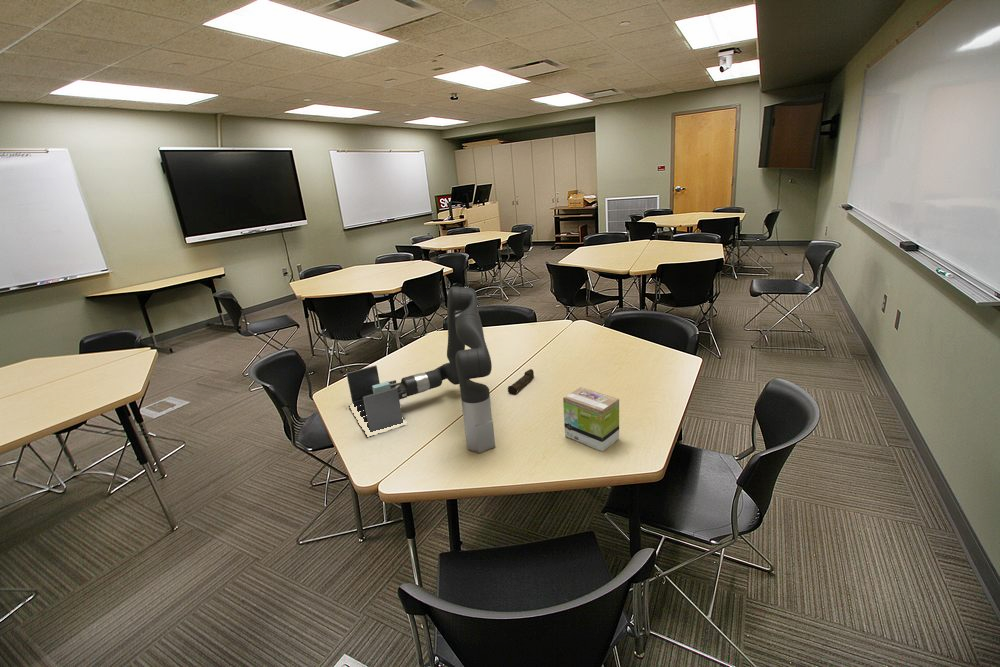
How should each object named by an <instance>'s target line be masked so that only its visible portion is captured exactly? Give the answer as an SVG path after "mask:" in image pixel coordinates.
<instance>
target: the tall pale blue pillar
mask: <svg viewBox="0 0 1000 667" xmlns="http://www.w3.org/2000/svg"><path fill="white" fill-rule="evenodd" d="M388 382H389V381H385V382H381V383H380V384H377V385H373V386H372V388H373V394H375V393H378V392H382V391H385V390H389V389H391V388H390V384H389V383H388Z"/></svg>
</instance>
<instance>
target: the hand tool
mask: <svg viewBox="0 0 1000 667" xmlns="http://www.w3.org/2000/svg"><path fill="white" fill-rule="evenodd" d="M534 378H535V375H534V369H533V368H530V369H528V370H526V371H525V372H524V374H523V376H521V377H520V378H519V379H518V380H516V381H515V382H514V383H513V384H511V385H508V386H507V392H508V393H509V394H510V395H517V394H518V393H519V391H520V390H521V389H522V388H523V387H525V386H526V385H527V384H528V383H532V381H533V380H534Z"/></svg>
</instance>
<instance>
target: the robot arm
mask: <svg viewBox="0 0 1000 667" xmlns="http://www.w3.org/2000/svg"><path fill="white" fill-rule="evenodd" d="M478 304H479V303H478V298H477V292H476V290H475V289H474V288H472V287H465V286H464V287H463V286H451V287H450V288H449V289H448V293H447V306H446V308H447V310H446V311H447V348H446V358H447V360H448V362H446V363H444V364H442V365H440V366H438V367H437V368H435V369H432V370H429V371H425V372H420V373H419V372H418V373H415V374H412V375H409V376H405V377H402V378H401V380H400V382H397V380H395V379H394V380H389V381H387V382H388V383H389V384H390V388H391V389H392V388H396V387H397V389H398V395H399V401H400V400H404V399H405V398H407V397H411V396H414V395H419V394H421V393H424V392H426V391H429V390H432V389H435V388H438V387H440V386H441V385H442V384H443V381H446V380H448V381H449V382H450V383H451V384H452V385H459V390H460V391H459V392H460V401H461V409H462V410H461V411H462V418H463V427H464V434H465V441H466V448H467V449H468V450H470V451H471V452H476V453H478V454H481V453H484V452H486V451H488V450H491V449H493V448H495V447H496V440H495V438H496V437H495V431H494V429H495V428H494V421H493V415H492V414H493V413H492V404H491V402H492V401H491V394H490V388H489V387H488V385H486V384H485V383H481V382H477V381H473V380H474V379H478V378H479V379H480V378H485V377H488V376H490V374H491V373H492V365H493V364H492V359H491V355H490V352H489V348H488V345H487V344H486V340H485V334H484V328H483V324H482V319H481V316H480V313H479V307H478V306H479V305H478ZM456 311H457V312H461V313H459V315H458V316H457V317H456ZM466 347H468V349H466ZM472 379H473V380H472ZM371 391H372V394H373V389H372V390H371Z"/></svg>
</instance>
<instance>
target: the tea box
mask: <svg viewBox="0 0 1000 667" xmlns="http://www.w3.org/2000/svg"><path fill="white" fill-rule="evenodd" d="M562 399H563V401H562V402H563V419H564V420H563V422H564V425H563V426H564V436H565V437H567V438H569V439H570V440H571V439H572V440H574V441H577V442H578V443H581V444H583V445H586V446H588V447H590V448H593V449H595V450H598V451H599V452H604V451H606V450H607V449H608V448H609V447H610V446H612V445H613V444H614V443H615V442H617V441H618V440H619V439H620V398H616V397H613V396H611V395H607V394H604V393H601V392H597V391H595V390H591V389H588V388H586V387H581V386H580V387H578V388H577V389H576V390H574V391H572V392H570V393H569V394H567V395H566V396H564V397H563V398H562Z"/></svg>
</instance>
